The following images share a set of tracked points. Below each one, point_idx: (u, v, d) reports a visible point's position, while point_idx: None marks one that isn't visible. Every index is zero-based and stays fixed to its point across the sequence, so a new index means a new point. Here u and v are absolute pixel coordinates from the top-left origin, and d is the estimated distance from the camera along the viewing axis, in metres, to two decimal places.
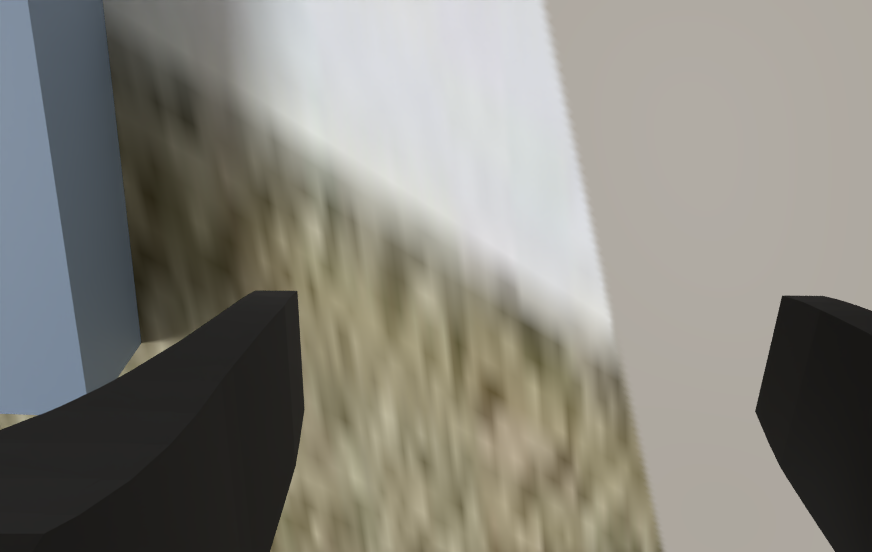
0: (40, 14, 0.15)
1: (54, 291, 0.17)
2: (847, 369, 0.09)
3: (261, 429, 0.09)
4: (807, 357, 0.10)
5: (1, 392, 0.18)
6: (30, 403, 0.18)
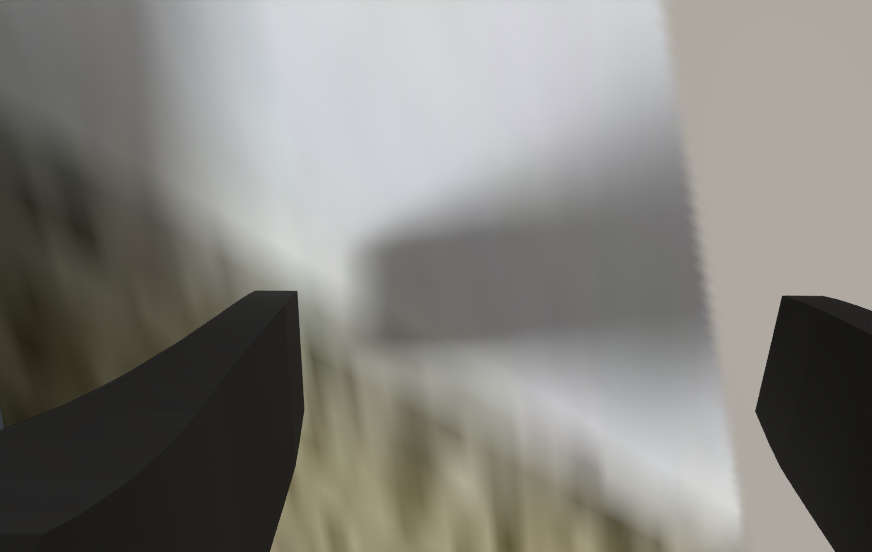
0: None
1: None
2: (847, 369, 0.09)
3: (261, 429, 0.09)
4: (807, 357, 0.10)
5: None
6: None
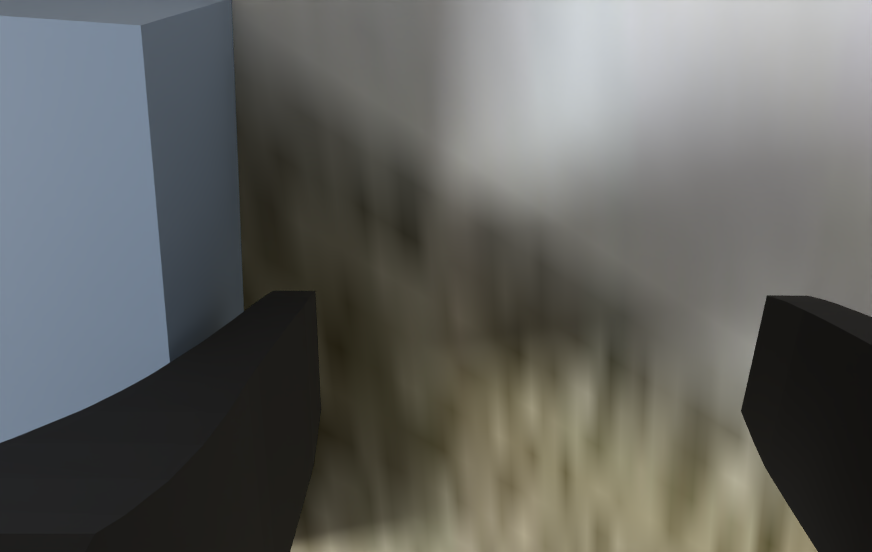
0: (163, 95, 0.08)
1: None
2: (829, 369, 0.09)
3: (283, 429, 0.09)
4: (791, 357, 0.10)
5: None
6: None
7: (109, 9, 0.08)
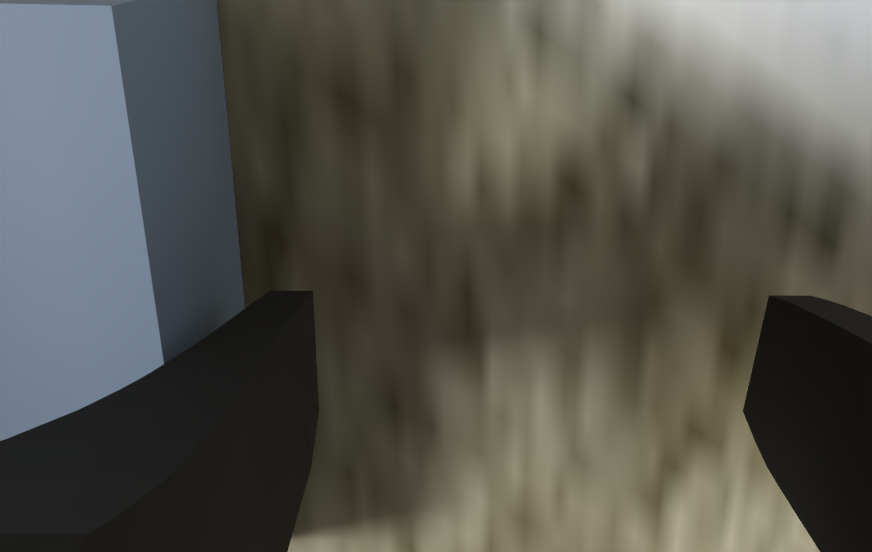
0: (141, 78, 0.08)
1: None
2: (832, 369, 0.09)
3: (280, 429, 0.09)
4: (793, 357, 0.10)
5: None
6: None
7: None
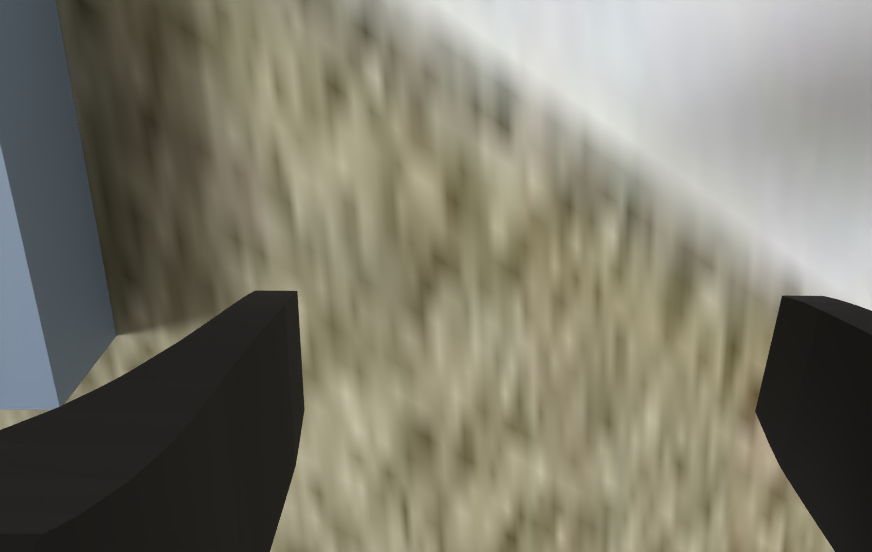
0: None
1: (14, 281, 0.17)
2: (847, 369, 0.09)
3: (261, 429, 0.09)
4: (807, 357, 0.10)
5: None
6: None
7: None
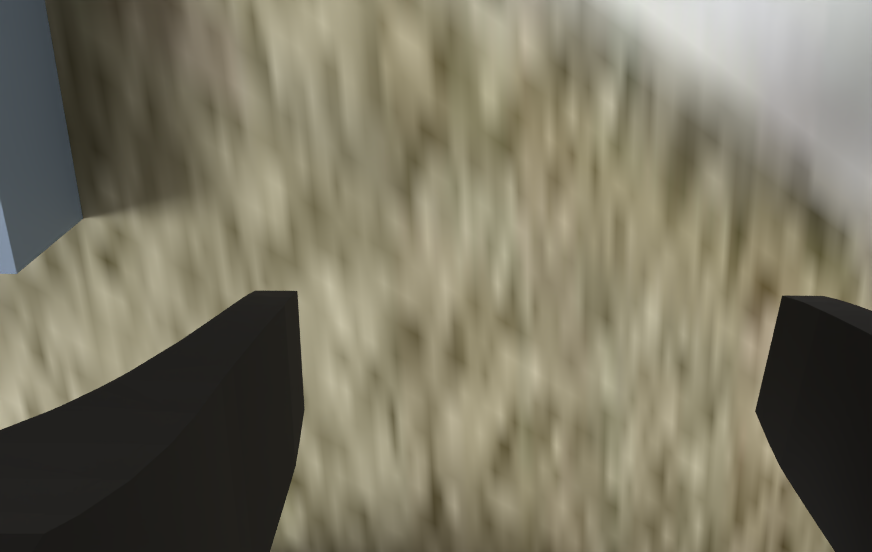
0: None
1: None
2: (847, 369, 0.09)
3: (261, 429, 0.09)
4: (807, 357, 0.10)
5: None
6: None
7: None
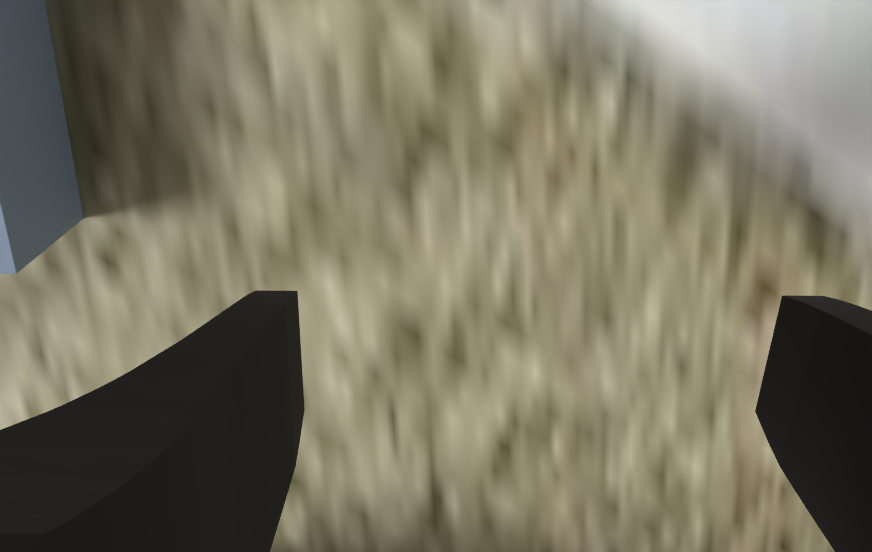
0: None
1: None
2: (847, 369, 0.09)
3: (261, 429, 0.09)
4: (807, 357, 0.10)
5: None
6: None
7: None
